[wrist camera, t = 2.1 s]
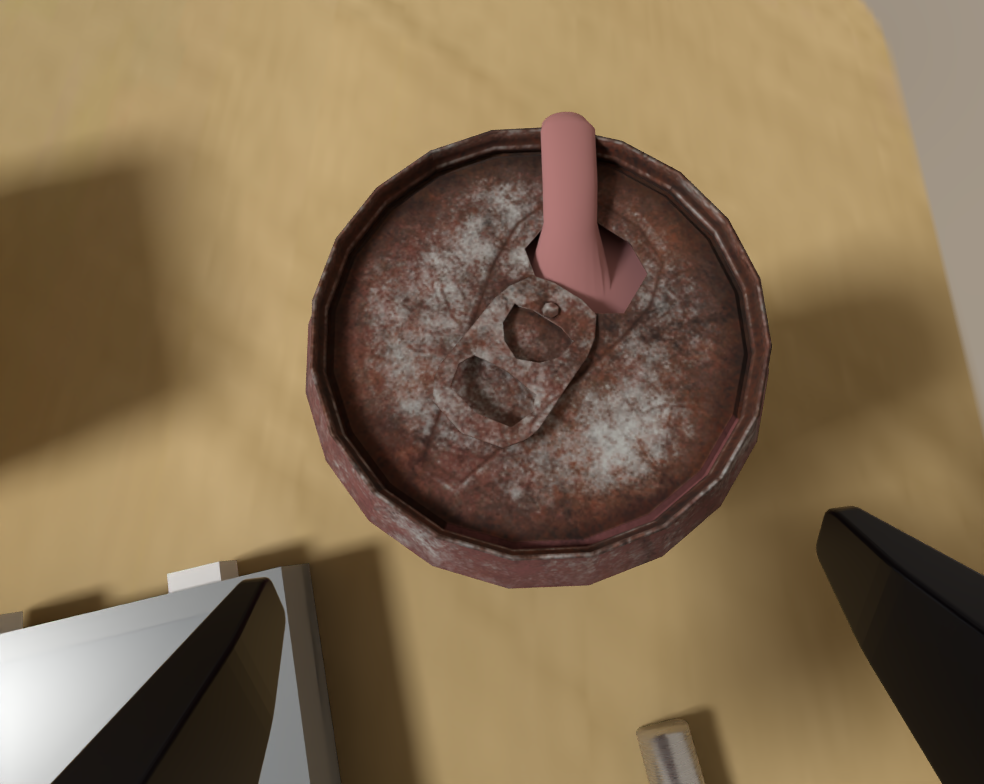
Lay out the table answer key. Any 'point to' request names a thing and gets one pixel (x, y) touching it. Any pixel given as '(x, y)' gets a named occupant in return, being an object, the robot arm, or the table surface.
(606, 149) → the can
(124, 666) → the tray
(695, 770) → the rod
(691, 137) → the table surface
